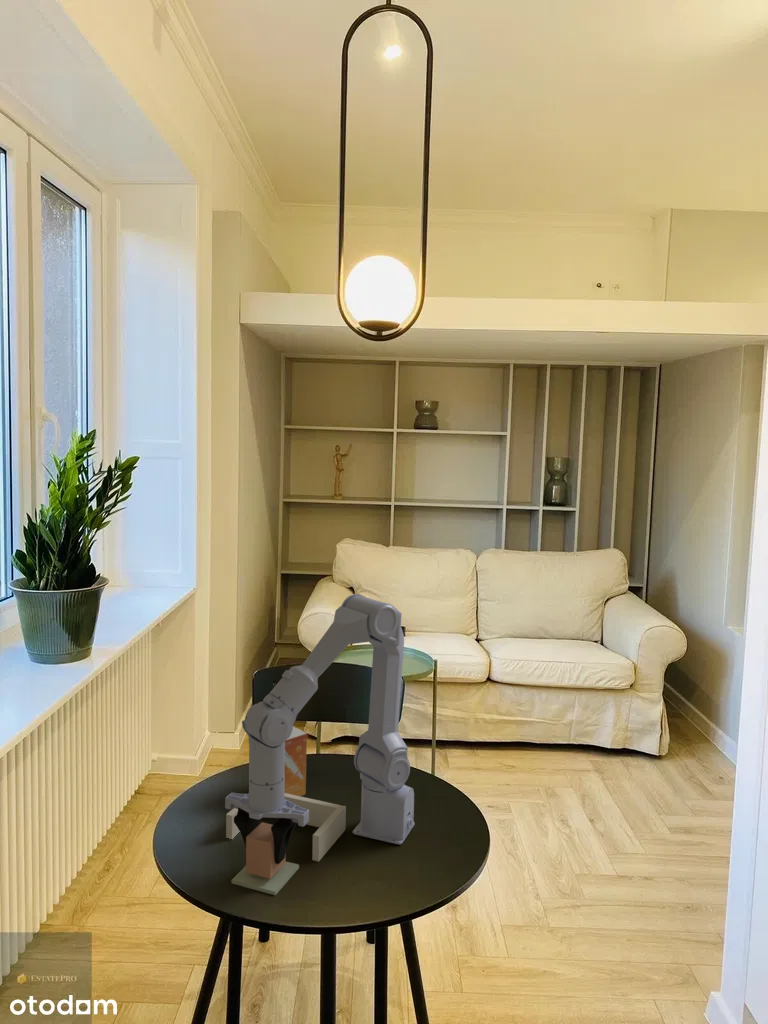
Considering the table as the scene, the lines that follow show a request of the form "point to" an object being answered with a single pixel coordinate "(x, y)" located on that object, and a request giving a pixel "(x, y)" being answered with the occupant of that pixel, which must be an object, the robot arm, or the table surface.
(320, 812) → the u-shaped wall
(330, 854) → the table surface
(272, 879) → the mat
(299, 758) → the small box
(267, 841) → the block
